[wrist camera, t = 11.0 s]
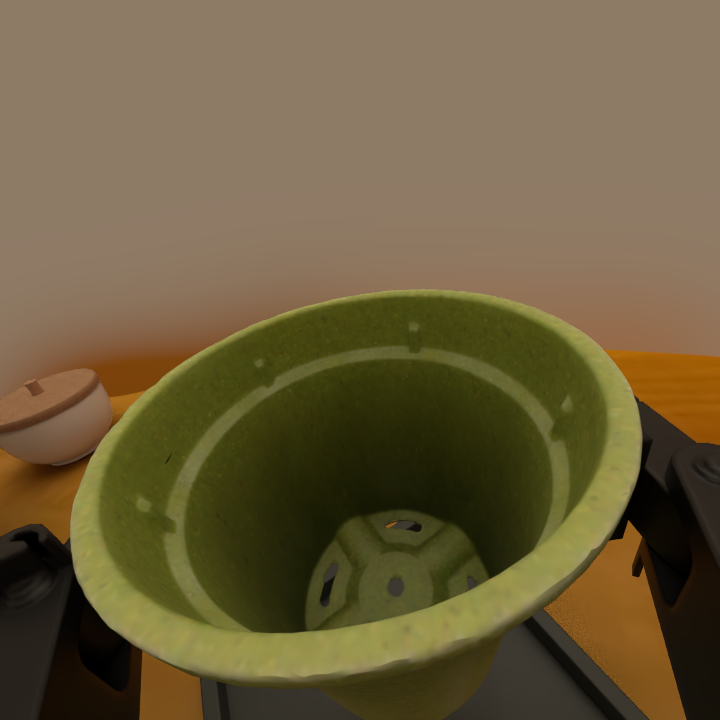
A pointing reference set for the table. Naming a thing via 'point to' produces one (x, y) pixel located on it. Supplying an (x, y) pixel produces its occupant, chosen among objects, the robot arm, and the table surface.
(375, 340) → the plant pot
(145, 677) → the table surface
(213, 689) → the drip tray
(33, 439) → the trinket box
